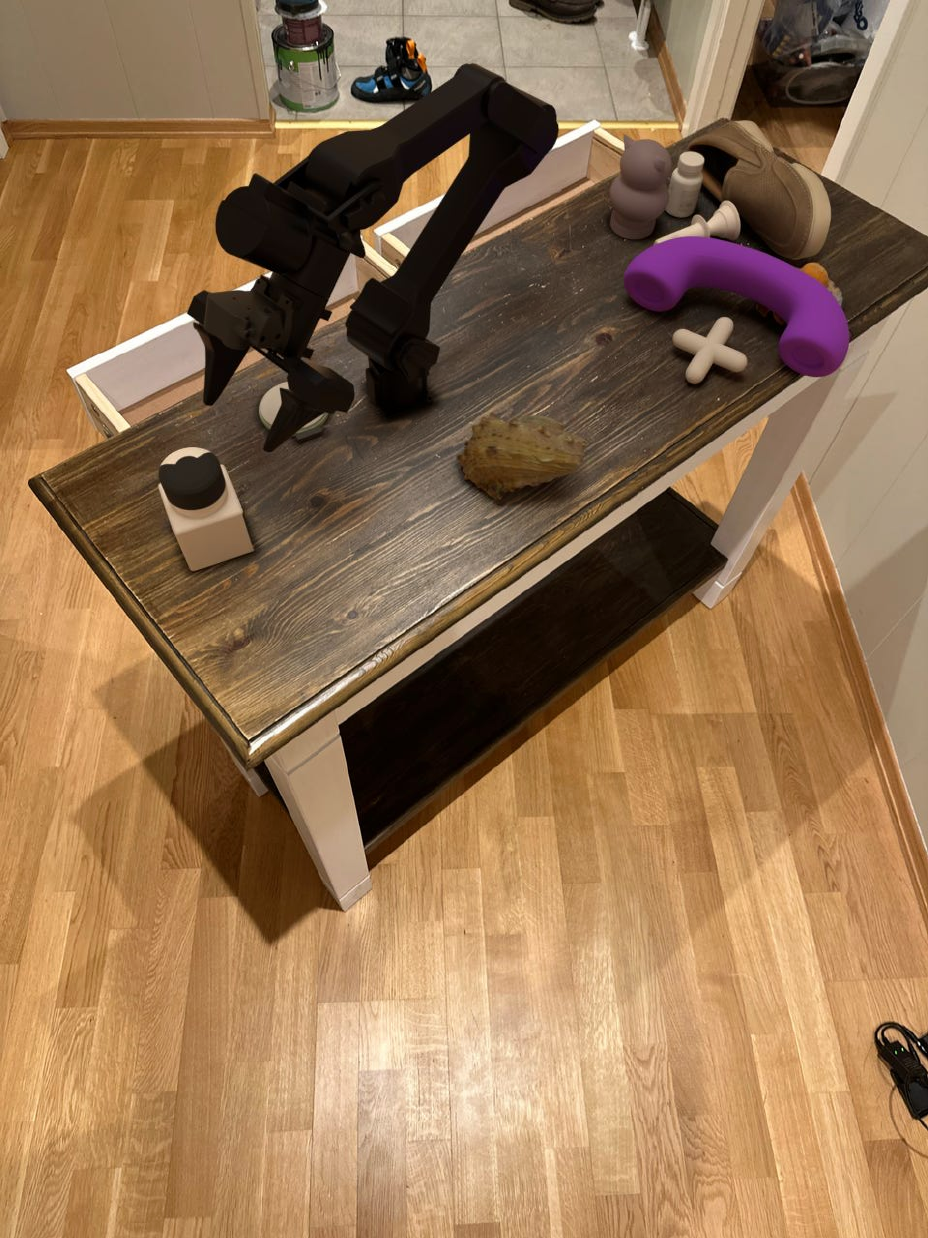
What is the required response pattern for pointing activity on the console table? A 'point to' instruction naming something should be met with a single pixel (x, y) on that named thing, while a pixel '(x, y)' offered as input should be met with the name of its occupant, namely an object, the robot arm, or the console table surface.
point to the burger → (820, 276)
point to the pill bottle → (685, 185)
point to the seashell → (519, 453)
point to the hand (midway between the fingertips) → (236, 427)
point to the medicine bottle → (203, 508)
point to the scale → (271, 408)
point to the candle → (712, 225)
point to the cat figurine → (639, 188)
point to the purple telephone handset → (787, 291)
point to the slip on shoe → (765, 189)
